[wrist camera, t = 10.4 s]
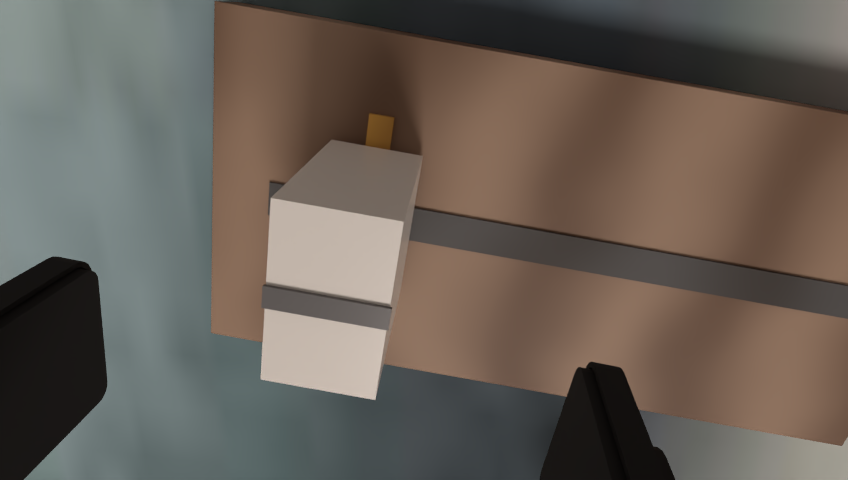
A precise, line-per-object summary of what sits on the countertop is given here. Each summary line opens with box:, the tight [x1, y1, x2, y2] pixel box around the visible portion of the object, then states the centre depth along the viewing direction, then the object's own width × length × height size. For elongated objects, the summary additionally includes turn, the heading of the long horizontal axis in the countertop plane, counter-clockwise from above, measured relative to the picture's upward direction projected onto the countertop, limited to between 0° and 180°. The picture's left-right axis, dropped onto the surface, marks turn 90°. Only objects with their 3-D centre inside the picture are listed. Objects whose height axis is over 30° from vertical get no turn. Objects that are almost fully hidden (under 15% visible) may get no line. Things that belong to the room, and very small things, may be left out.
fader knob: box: [261, 140, 423, 400], centre depth 16 cm, size 3×5×6 cm, turn 171°
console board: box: [211, 1, 848, 446], centre depth 20 cm, size 25×12×2 cm, turn 81°
